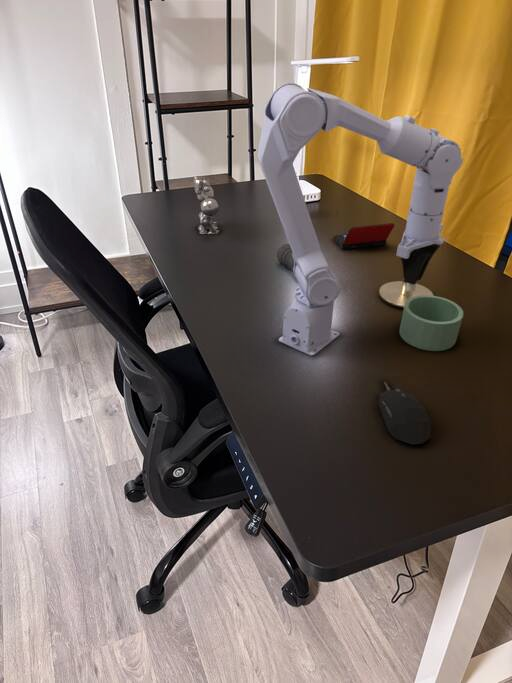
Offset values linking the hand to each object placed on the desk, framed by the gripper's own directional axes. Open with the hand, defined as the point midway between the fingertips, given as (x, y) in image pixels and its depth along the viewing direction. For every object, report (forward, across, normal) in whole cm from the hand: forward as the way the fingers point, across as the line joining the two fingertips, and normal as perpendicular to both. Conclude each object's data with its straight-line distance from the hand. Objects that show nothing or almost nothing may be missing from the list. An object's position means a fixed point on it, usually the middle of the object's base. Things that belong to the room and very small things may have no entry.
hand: (412, 280), depth 94 cm
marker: (+2, 0, 0) cm, 2 cm away
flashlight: (+11, +5, +29) cm, 31 cm away
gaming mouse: (+11, -24, -11) cm, 28 cm away
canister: (+10, 0, -5) cm, 12 cm away
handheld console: (+11, +30, +27) cm, 42 cm away
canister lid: (+10, +11, +5) cm, 16 cm away
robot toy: (+11, +11, +64) cm, 66 cm away
